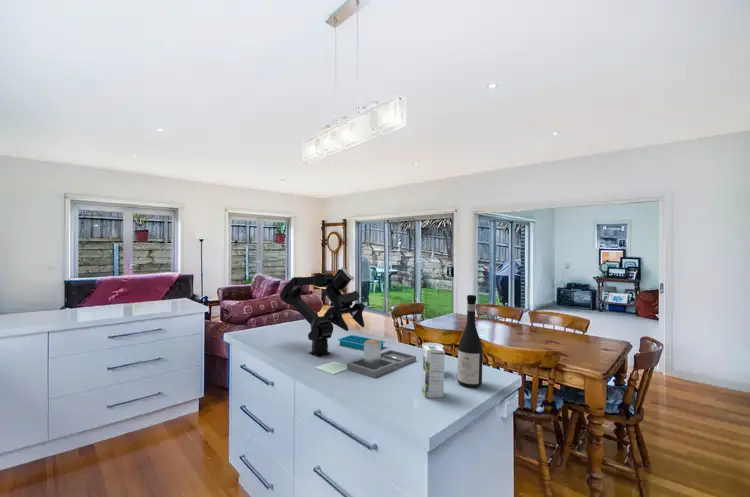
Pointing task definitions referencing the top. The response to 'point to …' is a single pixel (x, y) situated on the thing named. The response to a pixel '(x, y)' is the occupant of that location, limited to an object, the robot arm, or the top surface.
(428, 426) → the top surface
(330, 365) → the mat
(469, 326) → the wine bottle
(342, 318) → the robot arm
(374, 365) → the block
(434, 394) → the syrup box
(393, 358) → the rod
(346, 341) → the ice cube tray
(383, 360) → the grey compartment tray
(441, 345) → the white cup
